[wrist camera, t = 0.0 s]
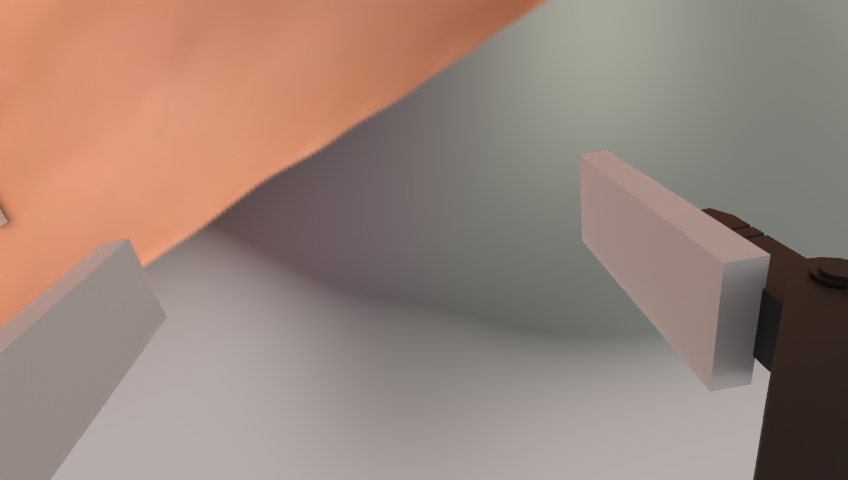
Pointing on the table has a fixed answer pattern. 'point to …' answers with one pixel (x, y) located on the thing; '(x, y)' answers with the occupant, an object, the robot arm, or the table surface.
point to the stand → (2, 218)
